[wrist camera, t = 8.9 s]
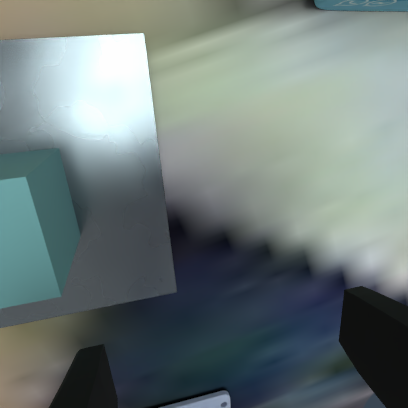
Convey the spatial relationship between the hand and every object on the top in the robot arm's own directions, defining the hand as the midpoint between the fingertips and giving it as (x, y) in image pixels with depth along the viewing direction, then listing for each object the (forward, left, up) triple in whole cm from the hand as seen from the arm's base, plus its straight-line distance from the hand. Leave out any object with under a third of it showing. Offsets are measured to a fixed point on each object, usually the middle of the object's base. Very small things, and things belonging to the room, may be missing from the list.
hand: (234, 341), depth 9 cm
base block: (+3, +7, -9) cm, 12 cm away
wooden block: (+3, +7, -7) cm, 10 cm away
